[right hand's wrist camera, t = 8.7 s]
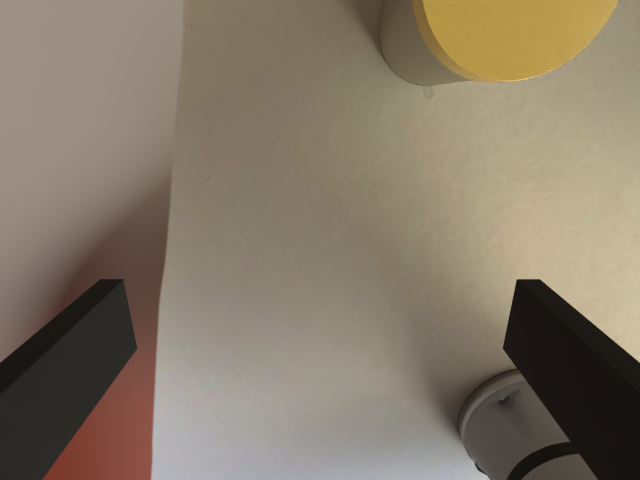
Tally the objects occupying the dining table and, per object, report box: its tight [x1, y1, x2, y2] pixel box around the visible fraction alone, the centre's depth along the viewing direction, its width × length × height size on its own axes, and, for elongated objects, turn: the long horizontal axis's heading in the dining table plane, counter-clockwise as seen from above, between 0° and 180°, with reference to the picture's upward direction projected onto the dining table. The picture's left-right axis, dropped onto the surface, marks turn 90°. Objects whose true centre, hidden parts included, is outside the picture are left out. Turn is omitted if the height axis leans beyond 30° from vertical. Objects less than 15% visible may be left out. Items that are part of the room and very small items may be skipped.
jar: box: [379, 0, 471, 86], centre depth 25 cm, size 9×9×16 cm
